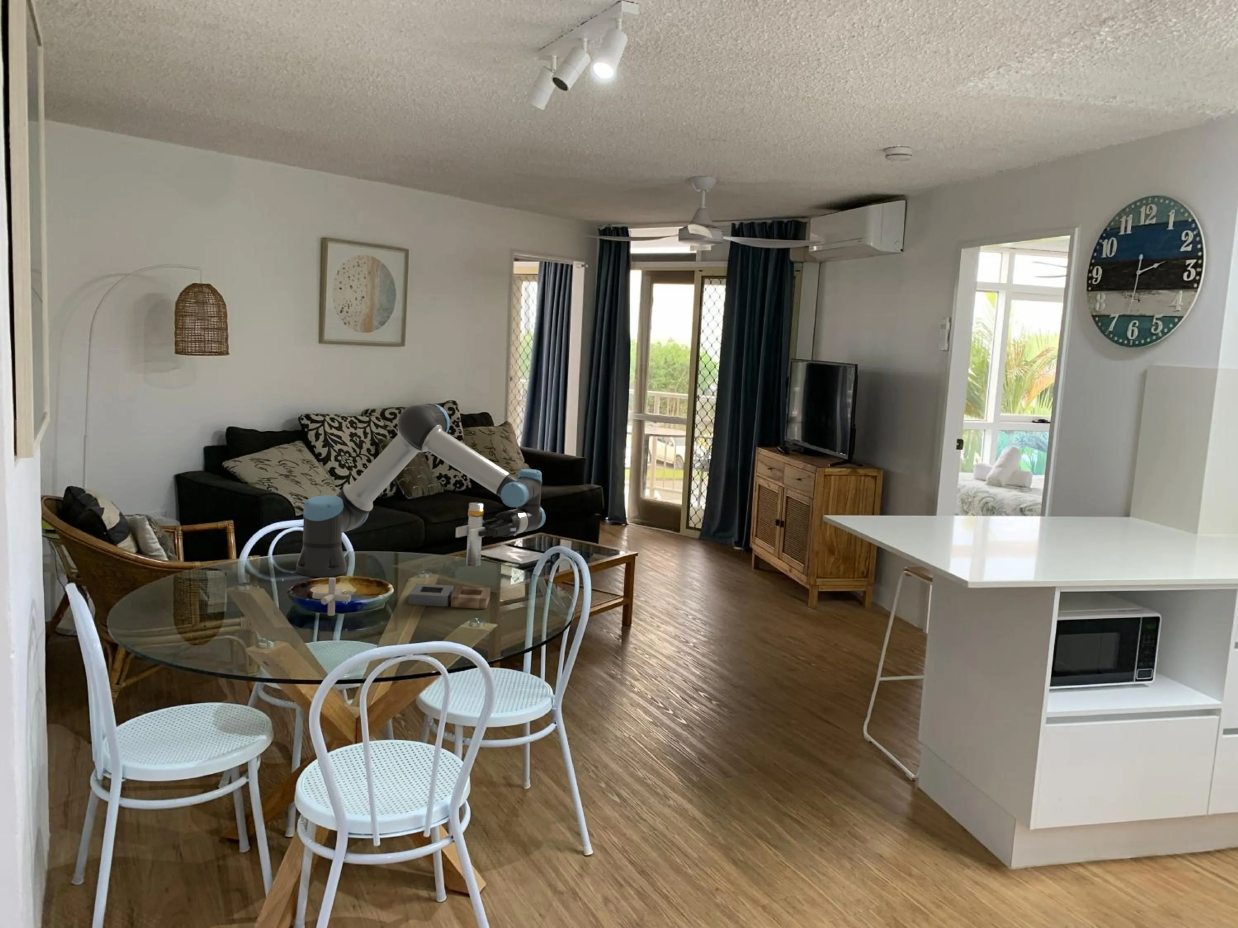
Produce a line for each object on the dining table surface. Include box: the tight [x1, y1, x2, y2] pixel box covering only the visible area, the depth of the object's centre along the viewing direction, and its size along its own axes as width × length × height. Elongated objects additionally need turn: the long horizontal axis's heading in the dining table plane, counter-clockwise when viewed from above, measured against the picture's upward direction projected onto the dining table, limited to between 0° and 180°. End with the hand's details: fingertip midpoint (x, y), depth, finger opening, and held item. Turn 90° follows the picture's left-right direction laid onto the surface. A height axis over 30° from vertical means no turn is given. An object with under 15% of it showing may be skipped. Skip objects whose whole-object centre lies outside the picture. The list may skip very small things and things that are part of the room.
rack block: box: [450, 585, 492, 610], centre depth 267 cm, size 10×12×3 cm
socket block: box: [407, 583, 454, 607], centre depth 266 cm, size 11×12×3 cm
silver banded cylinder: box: [465, 502, 484, 568], centre depth 265 cm, size 4×4×18 cm
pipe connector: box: [312, 577, 352, 617], centre depth 245 cm, size 10×10×10 cm
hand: (463, 533), depth 260 cm, fingers closed on silver banded cylinder, 4 cm apart
